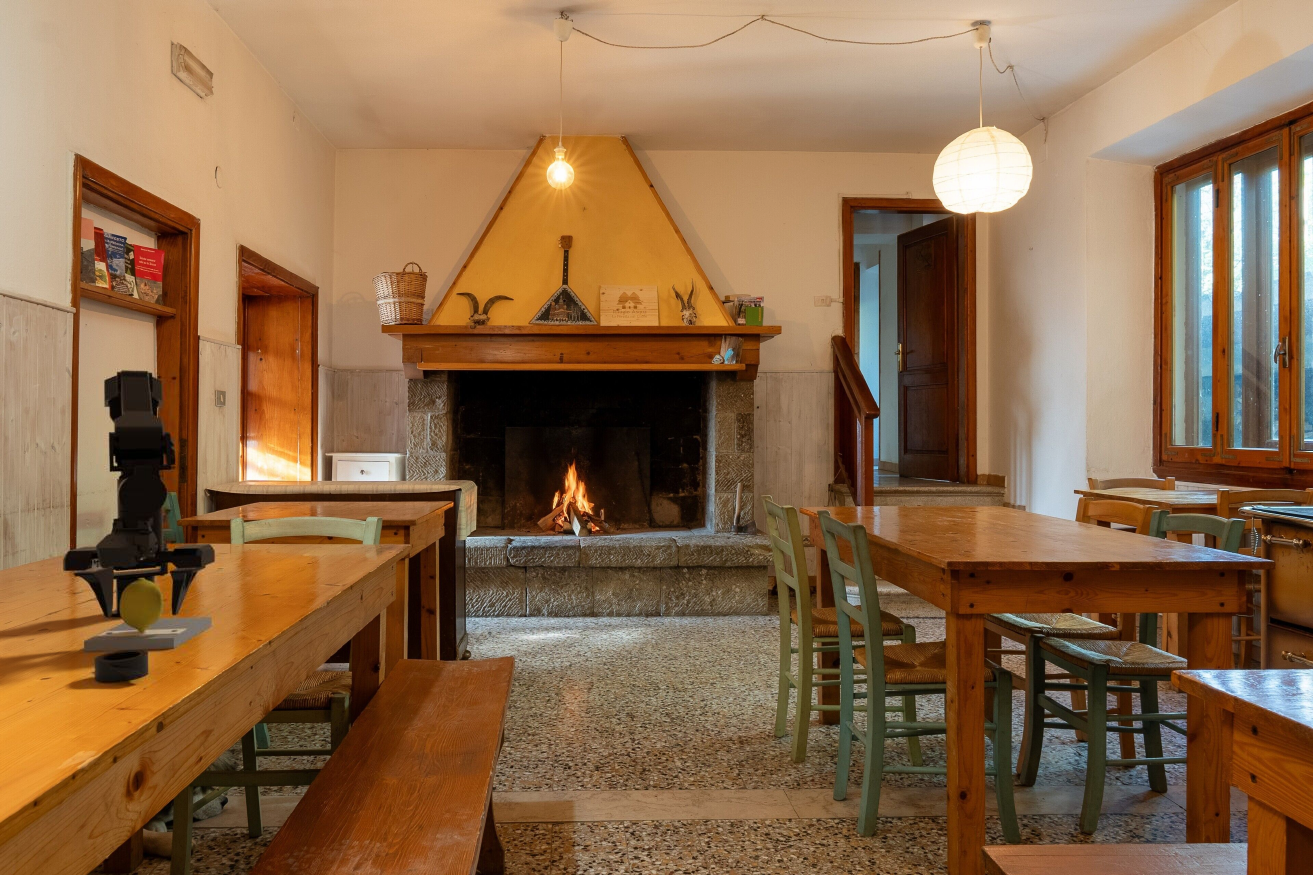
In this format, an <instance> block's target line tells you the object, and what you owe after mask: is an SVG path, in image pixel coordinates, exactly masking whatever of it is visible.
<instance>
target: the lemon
mask: <svg viewBox="0 0 1313 875" xmlns="http://www.w3.org/2000/svg"><path fill="white" fill-rule="evenodd" d="M163 610H164V596H163V594H162V591H161V589H160V587H159V586H158V585H157V584H156V583H155V584H154V583H153V582H151V581H148V580H145V579H144V578H139V579H138V580H137V581H135V582H133V583H131V584H130V585H128V586H127V587H126V588H125V589H124V591H123V593H122V596H121V599H120V614H121V616H120V618H121V620H122V621H123V623H124V622H125V623H126V624H127V625H128V626H130V627H133V628H136V629H137V630H138V631H139V632H144V631H145V630H146V629H147V628H148V627H149V626H151V625H153V624H154V623H156V622H157V621H158V619H161V618H160V617H161V616H162V613H163V612H164V611H163Z"/></svg>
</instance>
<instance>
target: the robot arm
mask: <svg viewBox="0 0 1313 875" xmlns="http://www.w3.org/2000/svg"><path fill="white" fill-rule="evenodd" d="M103 385H104V387H103V388H104V390H103V394H104V396H103V397H104V399H103V401H104V402H103V403H104V408H108V409H109V411H108V412H109V418H110V420H111V421H112V423H113V424H114V425H113V426H114V429H113V431H114V432H112V431H111V432H110V431H109V432H108V459H109V462H108V463H109V472H110V473H116V472H117V473H118V472H120V475H119V476H118V478H117V479H116V483H117V484H116V485H117V486H116V490H117V491H116V493H117V497H116V499H117V518H113V522H112V529H111V531H110V532H111V533H108V534H106V536H104V537H103V538H102V539H101V540H100V541H99V542H98V543H97V544H96V545H95V546H83V547H78V548H74V549H71V550H68V551H67V552H66V553H65V554H64V557H63V559H62V568H63V569H62V570H63V572H73V573H72V575H73V576H74V577H76V578H77V577H79V578H81V579H82V580H84V581H85V582H87V583H88V585H89V587H90V588H91V590H92V592H93V593H94V595H95V598H96V600H97V602H98V604H99V606H100V608H101V611H102V613H103V616H104V617H105V618H110V617H119V616H120V617H121V614H120V599H121V596H122V593H123V591H124V589H125V588H126V587H127V586H128V585H130V584H131V583H133V582H135V581H137V580H138V579H139V578H144V579H145V580H148V581H151V582H153V583H154V584H156V581H155V577H159V576H160V577H164V576H165V575H168V574H170V577H171V580H172V585H171V586H172V589H171V615H172V616H177V615H179V612H180V610H181V608H182V606H183V603H184V600H185V599H186V596H187V593H188V591H189V588H190V586H191V584H192V582H193V581H194V579H195V578H196V576H197V574H198V572H199V571H201V570H204V569H206V567H207V566H208V565H210V564H213V563H215V562H216V557H215V556H216V555H215V554H216V553H215V551H216V550H215V549H214V547H213V546H212V545H211V544H210V543H203V544H202V543H198V544H197V543H196V544H184V545H181V546H178V547H174V548H173V550H172V549H169V548H168V546H167V545H168V542H167V541H164V522H165V523H166V522H167V514H165V513H164V512H163V511H164V509H163V508H164V504H165V503H166V501H167V497H168V491H167V487H166V485H165V483H164V482H163V477H162V475H160V471H172V466H175V465H176V451H175V440H174V438H172V436H171V432H169V431H165V428H164V427H165V426H164V421H163V419H162V418H161V417H158V408H162V406H163V402H164V400H163V399H164V398H163V395H164V394H163V381H162V380H160V379H159V378H156V377H154V376H153V372H149V371H148V370H129V369H128V370H127V369H126V370H125V369H124V370H123V369H122V370H121V371H116V375H114V376H111V377H109V378H106V379H104V381H103ZM115 464H116V465H115ZM169 564H172V565H173V566H174V567H175V568H174V569H172V570H170V571H169ZM157 567H158V568H157ZM114 571H115V572H114ZM114 580H115V588H116V589H115V595H116V596H115V600H116V609H114ZM113 609H114V610H113Z"/></svg>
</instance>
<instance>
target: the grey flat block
mask: <svg viewBox="0 0 1313 875" xmlns="http://www.w3.org/2000/svg"><path fill="white" fill-rule="evenodd" d="M211 627H212V616H197V617H196V616H195V617H165V618H159V619H158V621H157V622H156V623H154V624H153V625H151V626H149V627H148V628H147V629H146V630H145V631H144V632H139V631H138V630H137V629H136V628H133V627H130V626H128V625H127V624H126V623H125V622H124V621H123V623H120V624H118V625H115V626H113V627H111V628H109V629H107V630H105V631H103V632H100V633H99V634H97V635H94V636H92V637H90V638H88V639H86V640H84V641H83V652H85V653H86V652H88V653H89V652H109V651H110V652H111V651H112V652H117V651H126V650H144V651H145V650H164V649H166V650H167V649H168V650H169V649H171V650H172V649H175V648H177V647H178V646H181V645H182V644H184V643H185V642H187V641H190V640H191V639H192V638H193V639H194V637H196V636H197V635H199V634H201V633H203V632H204V631H206V630H208V629H211Z"/></svg>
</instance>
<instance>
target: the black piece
mask: <svg viewBox="0 0 1313 875" xmlns="http://www.w3.org/2000/svg"><path fill="white" fill-rule="evenodd" d="M148 675H149V652H148V651H147V650H145V649H144V650H117V651H112V652H108V653H103V654H101V655H98V656H97V657H95V658H94V681H95V682H96V683H99V684H117V683H125V682H130V681H135V680H138V679H141V678H144V677H147V676H148Z"/></svg>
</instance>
